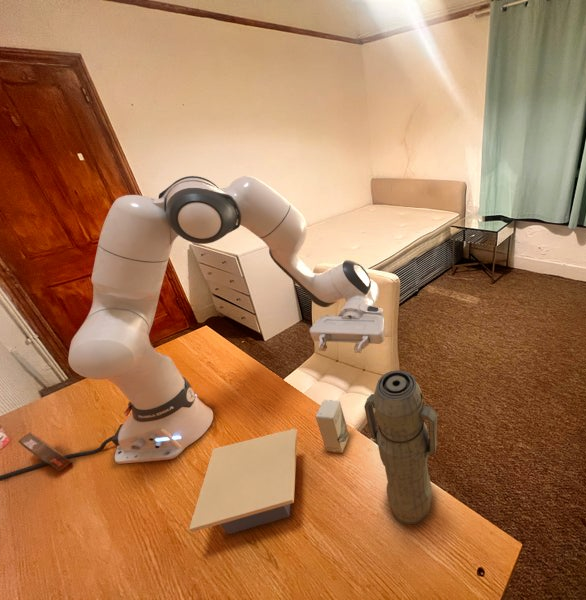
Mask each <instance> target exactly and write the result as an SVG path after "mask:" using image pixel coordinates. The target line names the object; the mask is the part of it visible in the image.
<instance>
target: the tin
mask: <svg viewBox="0 0 586 600" xmlns="http://www.w3.org/2000/svg"><path fill="white" fill-rule="evenodd" d="M18 443H19V444H20V445H21V446H22V447H24V448H25V449H26V450H27V451H29V452H30V453H31V454H32V455H34V456H36V457H37V458H38V459H39V460H41V461H43V462H46V463H49V464H48V465H51V467H53V468H54V469H55V470H56V471H58V472H61V471H62V470H63V469H65V468H66V467H67V466H68V465H70V464H71V463H72V462H73V461H71V460H70V458H67V459H66V458H65V457H64V456H65V455H64V454H62V453H61V452H59V451H58V450H57V449H55V448H54V447H53V446H52V445H50V444H48V443H47V442H46V441H44V440H42V439H41V438H39V437H38V436H37V435H35V434H34V433H32V432H31V431H29V432H28V433H27V434H25V435H24V436H23V437H21V438H20V439H19V440H18Z"/></svg>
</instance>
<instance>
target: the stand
mask: <svg viewBox="0 0 586 600" xmlns="http://www.w3.org/2000/svg"><path fill="white" fill-rule="evenodd" d="M297 447H298V429H297V427H295V428H291V429H287V430H282V431H279V432H275V433H271V434H267V435H263V436H259V437H255V438H251V439H246V440H243V441H238V442H235V443H231V444H227V445H222V446H218V447H215V448H213V449H212V452H211V455H210V458H209V462H208V465H207V468H206V472H205V474H204V478H203V481H202V485H201V488H200V492H199V494H198V498H197V501H196V505H195V508H194V511H193V515H192V518H191V521H190V525H189V528H188V531H190V532H191V533H194V532H198V531H201V530H203V529H204V530H205V529H207V528H211V527H215V526H219V525H220V526H221V528H223V530H224V531H225V533H226V534H227V535H231V534H235V533H238V532H242V531H246V530H248V529H251V528H255V527H258V526H262V525H265V524H268V523H272V522H275V521H279V520H282V519H285V518H289V517H290V516H291V504H294V503H295V490H296V489H295V487H296V467H297V451H298V450H297Z"/></svg>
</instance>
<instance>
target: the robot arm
mask: <svg viewBox="0 0 586 600" xmlns="http://www.w3.org/2000/svg"><path fill="white" fill-rule="evenodd" d="M240 226H242V227H244V228H245V229H247V230H248V231H250V232H251V233H253V235H255V236H256V237H257V238H259V240H262V241H263V243H264V244H265V245H266V246H267V247H268V254H269V256H270V258H271V260H272V261H273V262H274V263H275V264H276V265H277V267H278V268H279V269H281V270H282V272H283V273H285V274H286V276H288V277H289V278H290V279H291V280H292V281H293V283H295V284H296V285H298V287H299V288H301V290H302V291H304V292H305V294H306V295H307V297H308V298H309V299H310V300H311V302H312V303H314V305H317V306H318V307H320V308H321V307H322V308H330V306H332V305H334V304H335V303H337V302H339V301H341V300H342V299H345V302H344V304H343V306H342V307H341V310H340V311H339V313H338V315H323V316H321V317H319V318H318V319H316V320H315V321H314V323H313V324H312V325H311V327H310V328H309V335H310V338H311V340H312V341H313V342H319V343H318V346H317V349H318V351H319V352H326V350H327V349H328V345H327V343H349V344H354V347H353V351H354V353H355V354H361V353H362V352H363V350H364V349H365V348H367V347H368V346H369V345H371V344H373V345H380V344H383V343H384V342H385V338H386V318H385V312H384V310H383V308H381V307H378V306H377V305H378V302H379V299H380V298H379V297H380V287H379V285H378V284H377V282H376V281H375V280H373V279H371V278H370V276H369V273H368V272H367V271H366V269H365V268H364V267H363V266H362V264H360V263H358V262H356V261H354V260H350V259H346V260H344V261H342V262H340V263H338V264H336V265H334V266H332V267H331V268H329V269H327V270H325V271H323V272H320V273H315V272H313V271H312V270H311V268H309V267H308V266H307V264H306V263H304V261H302V260H301V258H300V257H299V256H298V254H299V252H300V251H301V249H302V247H303V245H304V244H305V240H306V238H307V233H308V227H307V226H308V225H307V222H306V219H305V217H304V216H303V214H302V213H301V211H299V210H298V209H297V208H296V207H295V206H294V205H292V204H291V203H290V202H289V201H288V200H287V199H286V198H285V197H284V196H282V195H281V194H280V193H279V192H278V191H276V190H275V189H274V188H272V187H271V186H269V185H268V184H266V183H265V182H263V181H262V180H260V179H258V178H257V177H254V176H251V175H244V176H240V177H238V178H236V179H234V180H233V181H232V182H231V183H230V184H229V186H226V187H223V188H222V187H221V188H220V187H219V186H218V185H216V184H215V183H214V182H213V181H211V180H209V179H207V178H205V177H201V176H198V175H189V176H183V177H180V178H179V179H177V180H175V181H174V182H172V183H171V184H170V185H169V186H168V187H166V188H165V189H164V190H163V191H161V192H160V193H159V194H158V198H153V197H149V196H145V195H141V194H126V195H122V196H119V197H117V198H116V199H115V200H114V202H113V203H112V205H111V207H110V208H109V211H108V213H107V215H106V217H105V220H104V221H103V224H102V227H101V231H100V235H99V237H98V238H99V239H98V243H97V248H96V254H95V258H94V264H93V268H92V272H91V277H90V278H91V279H90V281H91V284H92V290H93V291H92V294H93V296H92V303H91V307H90V310H89V312H88V315H87V317H86V318H85V320H84V321H83V323H82V325H81V326H80V327H79V329H78V330H77V331H76V333H75V334H74V336H73V337H72V339H71V341H70V345H69V350H68V359H67V360H68V365H69V367H70V369H71V370H72V371H73V372H75V373H76V374H77V375H79V376H81V377H84V378H86V379H89V380H100V381H101V380H102V381H103V380H104V381H105V380H107V381H109V382H110V383H111V384H114V385H115V386H116V387H117V388H118V389H119V391H120V392H122V394H124V396H125V397H126V398H127V399H128V404H127V407H126V409H125V411H124V414H125V416H126V419H125V420H124V422H123V423H120V424H119V426H118V428H117V430H116V431H115V433H114V435H112V436H110V437H109V438H107V439H106V440H104V441H102V443H101V444H100V446H99V447H98V448H94V449H92V450H88V451H82V452H74V453H69V454H66V455H63V456H64V457H65V458H66V459H70V458H75V457H76V458H77V457H84V456H90V455H93V454H96V453H99V452H101V451H102V450H104V449H105V447H106V445H108V443H111V442H112V443H113V444H114V445H115V446H116V450H115V452H114V453H115V454H114V461H115V463H116V464H117V465H120V464H134V463H144V462H156V461H157V462H158V461H168V460H174V459H175V458H176V457H178V456H179V455H180V454H181V453H182V452H183V451H184V450H185V449H186V448H187V447H189V446H190V445H192V444H193V443H195V442H196V441H197V440H199V439H200V438H201V437H202V436H203V435H204V434H205V433H206V432H207V431H208V430H209V428H210V427H211V425H212V422H213V420H214V411H213V410H212V408H210V407H209V406H208V405H206V403H204V402H203V401H201V400H200V398H198V395H197V393H195V391H194V389H193V387H192V385H191V384H190V382H189V381H188V380H187V379H186V377H185V376H183V375H182V373H181V372H180V370H179V369H178V367H177V366H176V364H175V363H174V361H173V359H172V358H171V357H170V356H169V355H167V354H164V353H160V352H158V351H157V350H156V349H155V348H154V347H153V345H152V343H151V340H150V332H151V329H152V327H153V323H154V321H155V316H156V312H157V307H158V305H159V304H158V303H159V299H160V294H161V289H162V286H163V282H164V278H165V274H166V271H167V267H168V263H169V260H170V255H171V252H172V248H173V244H174V242H175V241H176V239H177V238H178V237H180V238H182V239H183V240H185V241H187V242H190V243H193V244H198V245H207V244H211V243H214V242H217V241H219V240H222V238H224V237H225V236H227V235H229V234H230V233H232V232H234V231H236V230H237V229H239V228H240ZM47 465H50V464H49V463H46V462H44V461H43V462H42V461H41V462H39V463H36V464H33V465H30V466H26V467H23V468H20V469H17V470H14V471H10V472H7V473H3V474H1V475H0V480H3V479H6V478H10V477H12V476H15V475H18V474H22V473H26V472H29V471H31V470H35V469H38V468H41V467H43V466H47Z"/></svg>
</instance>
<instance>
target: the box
mask: <svg viewBox="0 0 586 600" xmlns="http://www.w3.org/2000/svg"><path fill="white" fill-rule="evenodd" d="M314 417H315V420H316V423H317V426H318V429H319V432H320V436H321V438H322V441H323V444H324V447H325V451H326V452H331V453H341V454H342V453H343V452H344V450H345V447H346V446H347V442H348V440H349V437H350V434H349V430H348V427H347V423H346V419H345V415H344V411H343V408H342V403H341V401H340V400H333V399H323V401H322V402H321V404H320V405H319V408H318V410H317V412H316V415H315V416H314Z"/></svg>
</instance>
